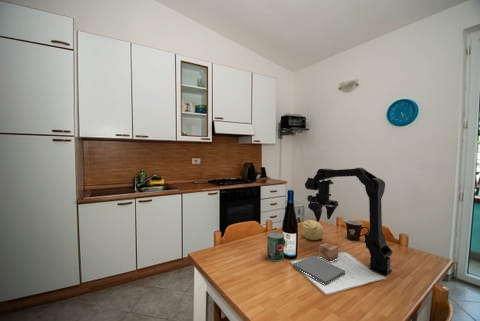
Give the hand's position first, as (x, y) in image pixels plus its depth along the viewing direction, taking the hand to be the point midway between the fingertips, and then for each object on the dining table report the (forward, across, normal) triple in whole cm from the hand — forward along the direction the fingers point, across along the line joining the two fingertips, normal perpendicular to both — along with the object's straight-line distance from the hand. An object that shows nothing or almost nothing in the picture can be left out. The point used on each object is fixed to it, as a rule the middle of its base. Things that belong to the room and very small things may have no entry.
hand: (323, 220), depth 115 cm
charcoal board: (+15, +22, +14) cm, 30 cm away
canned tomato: (+15, +30, -5) cm, 34 cm away
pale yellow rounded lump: (+15, -6, -11) cm, 19 cm away
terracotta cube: (+15, +9, +9) cm, 19 cm away
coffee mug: (+15, -25, +4) cm, 30 cm away
